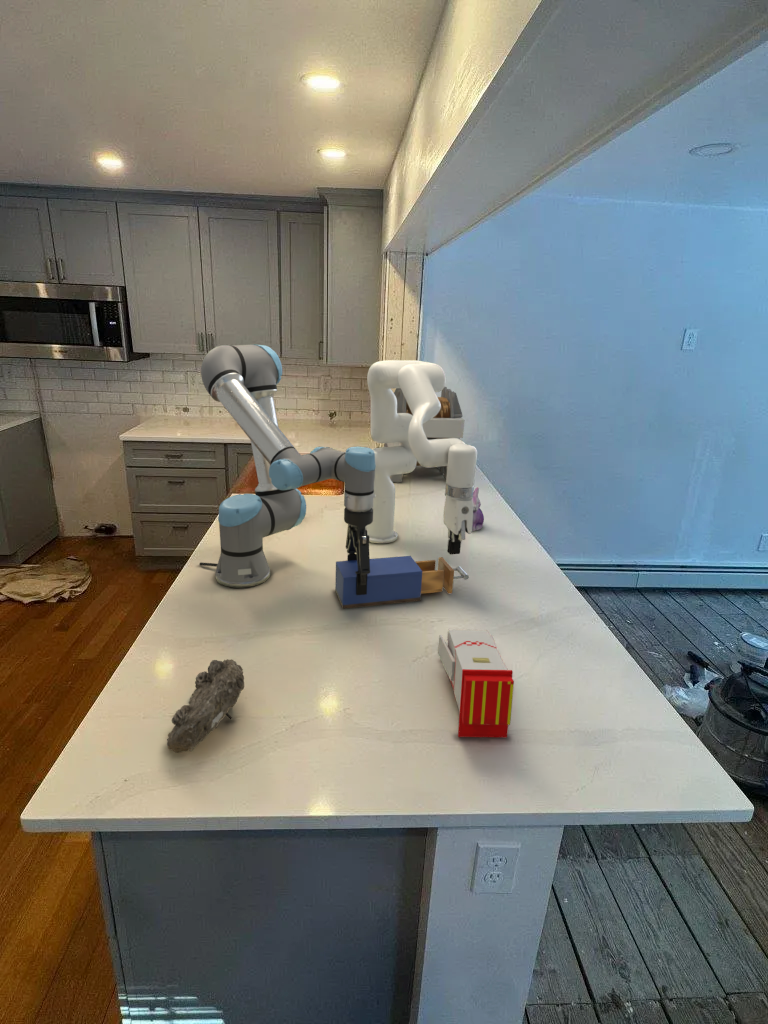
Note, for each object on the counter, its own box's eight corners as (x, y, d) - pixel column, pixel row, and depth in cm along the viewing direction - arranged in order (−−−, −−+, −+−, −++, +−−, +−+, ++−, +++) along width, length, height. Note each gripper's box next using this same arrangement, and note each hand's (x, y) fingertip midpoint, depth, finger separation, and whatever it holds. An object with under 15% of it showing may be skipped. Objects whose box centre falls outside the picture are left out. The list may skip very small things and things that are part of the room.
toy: (488, 613, 130) (523, 677, 101) (484, 667, 133) (517, 744, 104) (435, 612, 130) (455, 676, 101) (432, 666, 133) (451, 743, 103)
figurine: (469, 533, 203) (473, 493, 198) (453, 523, 211) (457, 485, 206) (490, 530, 207) (495, 490, 202) (474, 520, 215) (478, 482, 210)
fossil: (192, 660, 117) (244, 628, 112) (224, 691, 120) (276, 661, 115) (142, 746, 98) (202, 712, 93) (182, 779, 101) (242, 748, 96)
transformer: (382, 463, 289) (386, 382, 275) (445, 464, 293) (451, 384, 279) (390, 482, 257) (394, 392, 243) (460, 483, 261) (468, 394, 247)
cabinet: (408, 583, 164) (410, 555, 161) (420, 600, 155) (422, 571, 152) (335, 590, 158) (335, 561, 155) (342, 608, 149) (343, 578, 146)
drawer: (457, 577, 167) (459, 555, 165) (470, 591, 159) (472, 568, 157) (373, 585, 160) (374, 562, 158) (381, 600, 152) (382, 576, 150)
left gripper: (384, 522, 137) (381, 603, 144) (362, 493, 157) (360, 565, 165) (354, 524, 135) (352, 606, 142) (335, 494, 155) (334, 567, 163)
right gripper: (484, 498, 147) (477, 563, 153) (461, 482, 160) (455, 542, 166) (457, 500, 145) (451, 565, 151) (436, 483, 158) (431, 543, 164)
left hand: (356, 584), depth 153 cm, fingers closed on cabinet, 10 cm apart
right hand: (453, 553), depth 158 cm, fingers closed
